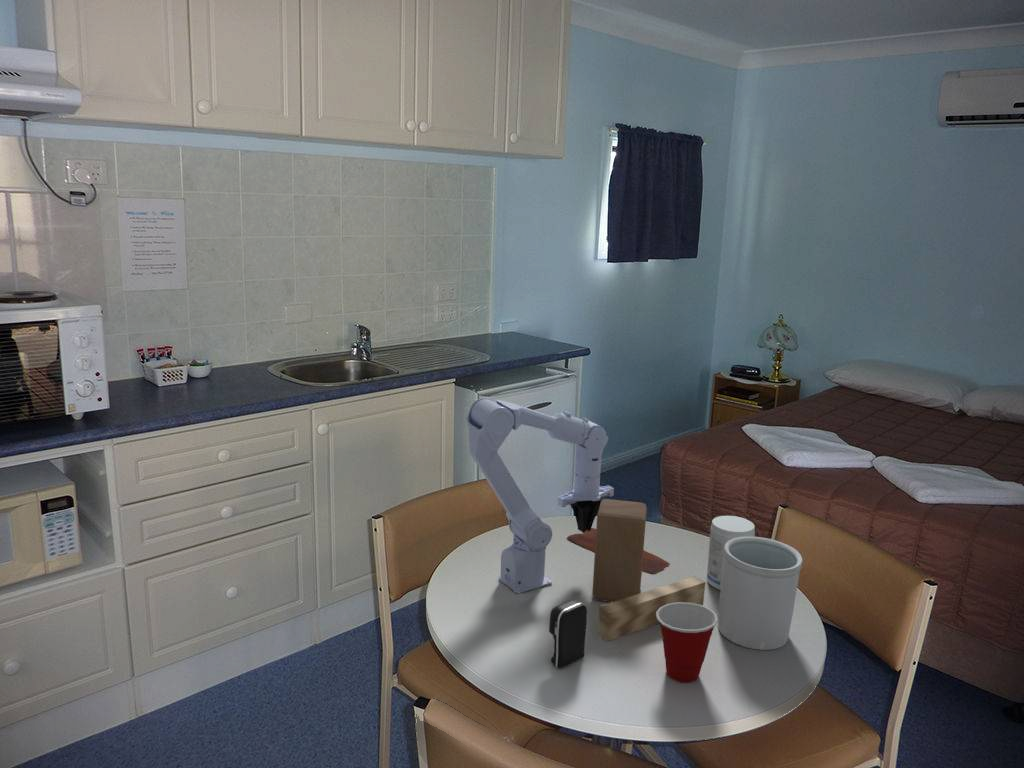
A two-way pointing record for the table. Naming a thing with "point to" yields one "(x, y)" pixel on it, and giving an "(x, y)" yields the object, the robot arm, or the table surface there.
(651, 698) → the table surface
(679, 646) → the plastic cup
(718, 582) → the supplement tub
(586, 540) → the wooden tablet
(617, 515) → the block
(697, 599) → the board
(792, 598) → the utensil holder
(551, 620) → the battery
